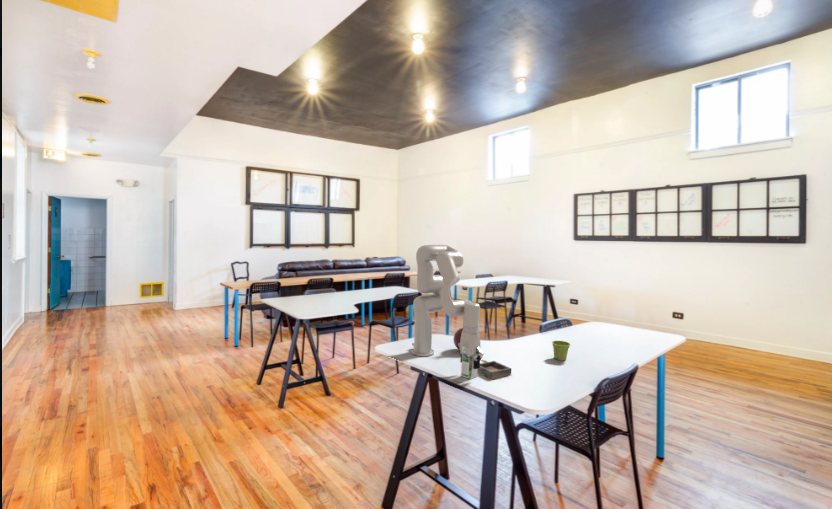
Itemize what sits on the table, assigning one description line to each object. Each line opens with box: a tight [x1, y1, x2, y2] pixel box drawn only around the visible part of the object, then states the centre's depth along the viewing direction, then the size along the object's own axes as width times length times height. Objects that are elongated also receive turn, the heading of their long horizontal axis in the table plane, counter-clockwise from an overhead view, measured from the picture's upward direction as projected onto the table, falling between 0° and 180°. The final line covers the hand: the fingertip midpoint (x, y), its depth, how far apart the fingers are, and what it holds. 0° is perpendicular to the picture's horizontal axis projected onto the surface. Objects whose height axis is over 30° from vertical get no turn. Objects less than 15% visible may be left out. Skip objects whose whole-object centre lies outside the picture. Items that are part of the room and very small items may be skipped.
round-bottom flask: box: [453, 327, 463, 350], centre depth 236 cm, size 13×13×20 cm
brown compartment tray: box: [477, 359, 512, 380], centre depth 208 cm, size 20×12×3 cm, turn 32°
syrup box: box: [460, 346, 478, 380], centre depth 199 cm, size 6×6×14 cm
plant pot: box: [551, 340, 571, 361], centre depth 228 cm, size 9×9×9 cm
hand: (469, 365), depth 199 cm, fingers open, 9 cm apart
